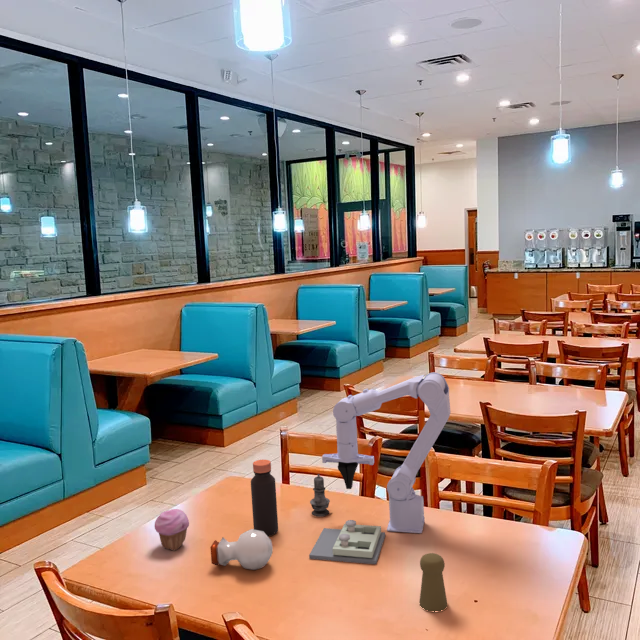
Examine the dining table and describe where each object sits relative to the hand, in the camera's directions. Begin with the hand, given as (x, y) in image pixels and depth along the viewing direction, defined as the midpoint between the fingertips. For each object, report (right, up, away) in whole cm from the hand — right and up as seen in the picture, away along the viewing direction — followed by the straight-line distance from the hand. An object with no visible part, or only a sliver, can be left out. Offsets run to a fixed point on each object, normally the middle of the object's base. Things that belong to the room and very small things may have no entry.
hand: (349, 487), depth 175 cm
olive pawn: (+16, -14, -41) cm, 46 cm away
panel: (+2, -10, -15) cm, 18 cm away
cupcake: (-48, -14, -9) cm, 50 cm away
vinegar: (-23, -12, -3) cm, 26 cm away
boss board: (-1, -12, -14) cm, 18 cm away
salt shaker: (-8, -10, +8) cm, 15 cm away
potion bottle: (-27, -14, -21) cm, 37 cm away
